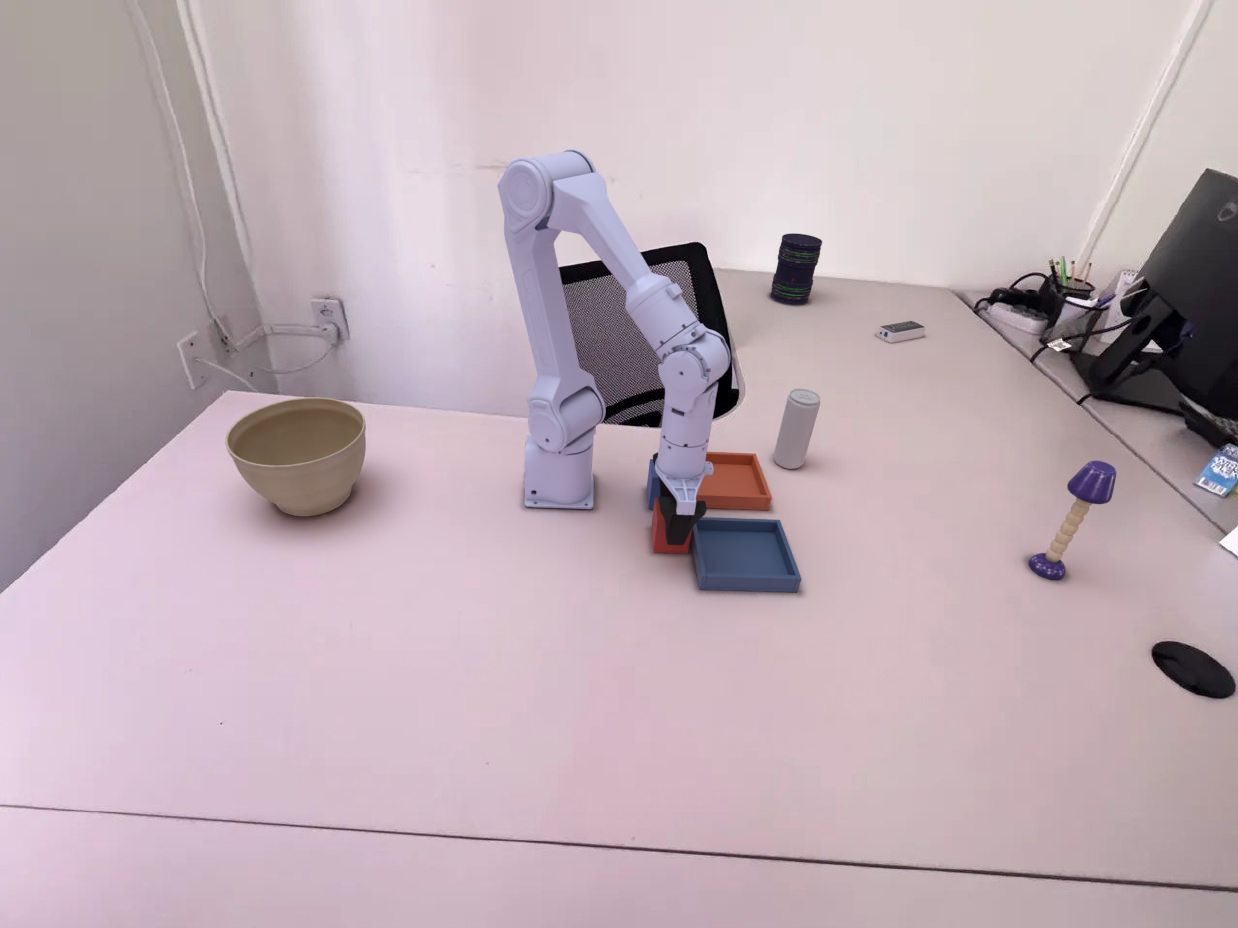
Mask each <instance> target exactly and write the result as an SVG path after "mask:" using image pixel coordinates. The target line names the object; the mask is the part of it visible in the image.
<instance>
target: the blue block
mask: <svg viewBox="0 0 1238 928" xmlns="http://www.w3.org/2000/svg"><path fill="white" fill-rule="evenodd" d="M647 472H648V473H647V479H646V489H645V491H646V497H647V499H646V500H647V508H648V509H649V510H653V509H654V501H655V498H658V497H660V484H659V477H658V474H657V473H656V470H655V466H654V464H653V458H650V459H649V465H648V471H647Z"/></svg>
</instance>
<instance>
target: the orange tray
mask: <svg viewBox="0 0 1238 928" xmlns="http://www.w3.org/2000/svg"><path fill="white" fill-rule="evenodd" d="M705 461H708V462H711V463H712V464H713V468H714V471H713V474H712V475H705V476H704V478H703V480H702V483H701V485H700V488H699V490H698V493H697V496H696V501H705V502H706V507H707V509H718V510H719V509H721V510H722V509H723V510H748V511H749V510H751V511H752V510H753V511H769V510H770V507H771V503H772V500H773V497H772V495H771V491H770V489H769V487H768V484H767V480H766V478H765V475H764V473H763V470H762V466H761V464H760V461H759V459H758V456H757V454H756V453H751V452H749V453H748V452H725V451H724V452H723V451H707V454H706V460H705Z"/></svg>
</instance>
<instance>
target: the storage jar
mask: <svg viewBox="0 0 1238 928" xmlns="http://www.w3.org/2000/svg"><path fill="white" fill-rule="evenodd" d="M781 236H782V237H781V242H780V246H779V248H778V254H777V265H776V270H775V273H774V274H773V276H772V282H771V288H770V290H771V292H770V294H769V297H770V299H771V300H773V301H774V302H777V303H779V304H782V305H787V306H804V305H807V304H808V303H809V297H810V295H811V292H812V288H813V285H814V279H813V278H814V274H815V270H816V267H817V265H818V263H819V259H820V256H821V249H822V245H823V240H822V239H821V238H819V237H817V236H813V235H810V234H804V233H793V232H792V233H791V232H790V233H785V234H783V235H781Z"/></svg>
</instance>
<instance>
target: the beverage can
mask: <svg viewBox="0 0 1238 928" xmlns="http://www.w3.org/2000/svg"><path fill="white" fill-rule="evenodd" d="M821 398H822V397H821V395H820V394H818V393H817V392H816V391H814V390H812V389H807V388H793V389H792V390H790V391H789V394H788V396H787V398H786V403H785V407H784V411H783V416H782V419H781V422H780V426H779V431H778V435H777V439H776V443H775V448H774V452H773V456H772V457H773V460H774V462H775V463H776V464H777V465H778V466H779V467H782V468H783V469H788V470H796V469H798V468H800V467H802V466H803V465H804V463H805V460H806V456H807V453H808V449H809V445H810V442H811V439H812V435H813V432H814V427H815V424H816V421H817V417H818V413H819V409H820V406H821V400H822V399H821Z"/></svg>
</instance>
